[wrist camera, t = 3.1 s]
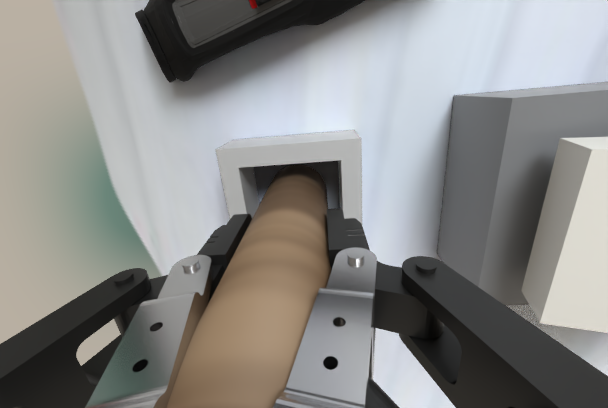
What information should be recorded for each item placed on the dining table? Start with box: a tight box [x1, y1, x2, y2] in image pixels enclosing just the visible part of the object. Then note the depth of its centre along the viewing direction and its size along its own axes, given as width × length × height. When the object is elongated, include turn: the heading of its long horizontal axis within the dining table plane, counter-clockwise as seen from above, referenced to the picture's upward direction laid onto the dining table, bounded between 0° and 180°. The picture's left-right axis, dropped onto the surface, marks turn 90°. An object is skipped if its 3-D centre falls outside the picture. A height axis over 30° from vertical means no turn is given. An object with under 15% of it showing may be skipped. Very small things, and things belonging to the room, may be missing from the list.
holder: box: [216, 130, 362, 224], centre depth 16 cm, size 7×7×3 cm
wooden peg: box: [167, 164, 332, 408], centre depth 11 cm, size 4×4×14 cm
